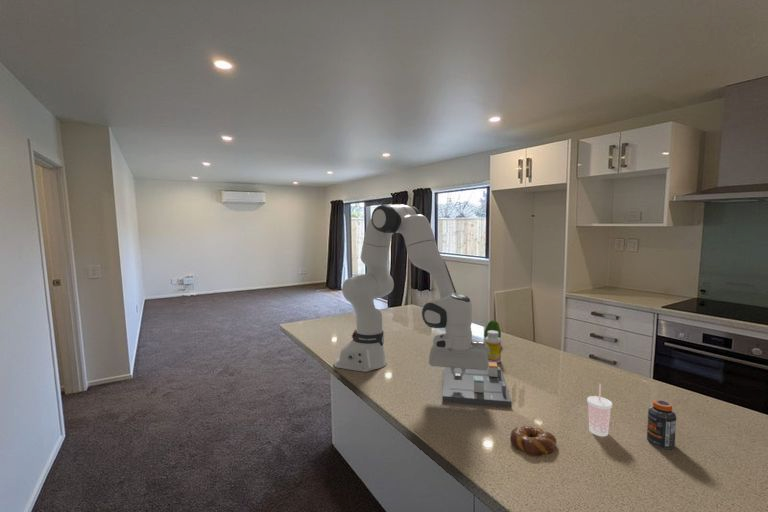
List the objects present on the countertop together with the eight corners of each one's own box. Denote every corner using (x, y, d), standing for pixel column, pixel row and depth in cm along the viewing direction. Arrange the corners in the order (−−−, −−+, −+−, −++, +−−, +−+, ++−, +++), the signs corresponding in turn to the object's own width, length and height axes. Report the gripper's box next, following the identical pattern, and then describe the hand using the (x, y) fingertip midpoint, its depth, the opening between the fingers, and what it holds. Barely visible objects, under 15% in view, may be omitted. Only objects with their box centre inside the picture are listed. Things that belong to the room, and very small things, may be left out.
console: (442, 401, 120) (442, 387, 119) (445, 371, 145) (445, 359, 145) (511, 407, 115) (511, 392, 115) (501, 374, 141) (501, 362, 140)
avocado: (504, 344, 177) (504, 320, 176) (493, 347, 172) (493, 323, 171) (491, 340, 183) (491, 317, 182) (480, 343, 179) (480, 319, 178)
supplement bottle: (501, 364, 152) (501, 334, 151) (485, 363, 153) (485, 333, 152) (499, 358, 158) (500, 329, 157) (484, 357, 160) (484, 329, 159)
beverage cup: (601, 440, 97) (603, 390, 96) (581, 428, 103) (582, 381, 102) (616, 434, 99) (618, 386, 98) (595, 423, 105) (597, 377, 104)
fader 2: (489, 376, 134) (489, 365, 133) (488, 372, 138) (488, 361, 137) (497, 376, 133) (497, 366, 133) (496, 372, 137) (496, 362, 137)
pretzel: (545, 433, 101) (546, 420, 101) (565, 457, 90) (566, 443, 90) (503, 434, 101) (503, 421, 101) (518, 458, 90) (518, 444, 90)
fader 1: (474, 391, 121) (474, 380, 121) (473, 386, 125) (473, 375, 125) (483, 392, 121) (483, 381, 120) (482, 387, 125) (482, 376, 124)
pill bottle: (641, 437, 98) (642, 397, 97) (661, 436, 99) (663, 396, 98) (659, 450, 92) (661, 408, 91) (681, 449, 93) (683, 407, 92)
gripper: (488, 339, 124) (487, 378, 126) (430, 336, 129) (429, 373, 130) (490, 346, 118) (489, 386, 120) (428, 341, 122) (428, 380, 124)
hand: (457, 379), depth 125 cm, fingers closed
